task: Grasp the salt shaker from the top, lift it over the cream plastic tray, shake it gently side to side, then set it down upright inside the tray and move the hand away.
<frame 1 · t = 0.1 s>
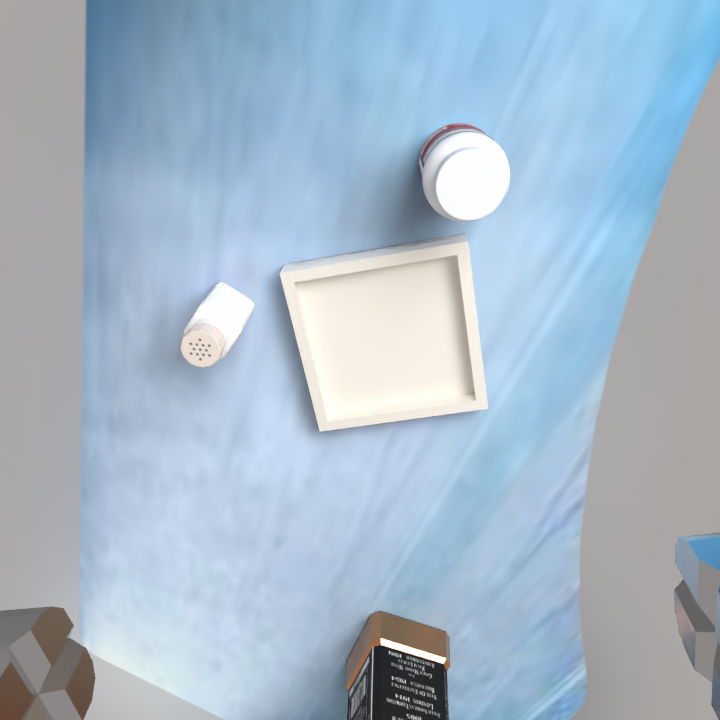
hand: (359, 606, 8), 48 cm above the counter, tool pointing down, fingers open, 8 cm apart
pill bottle: (456, 161, 52), on the counter
tray: (388, 332, 59), on the counter
salt shaker: (229, 305, 59), on the counter
whiskey bottle: (396, 647, 77), on the counter
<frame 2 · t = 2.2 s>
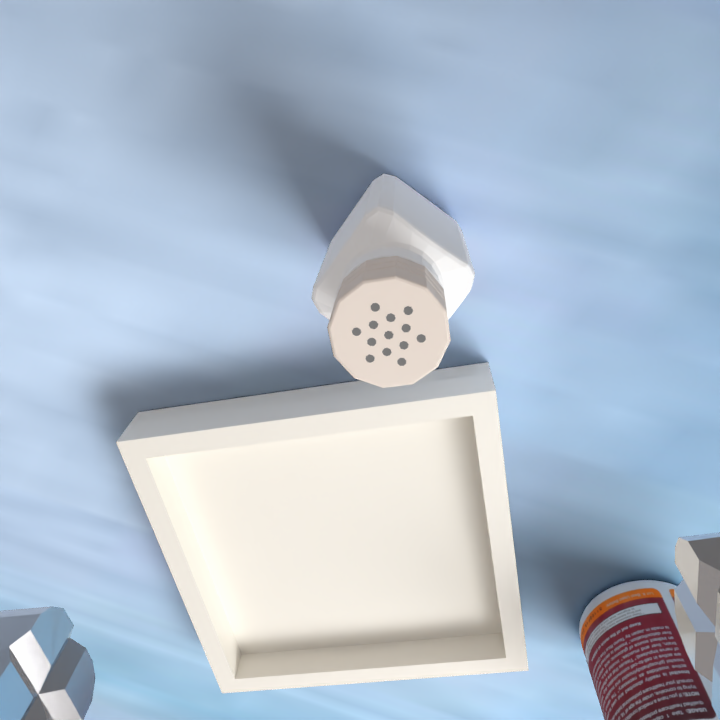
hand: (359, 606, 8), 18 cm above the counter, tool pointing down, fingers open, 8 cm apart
pill bottle: (636, 615, 33), on the counter
tray: (342, 528, 32), on the counter
salt shaker: (394, 236, 25), on the counter
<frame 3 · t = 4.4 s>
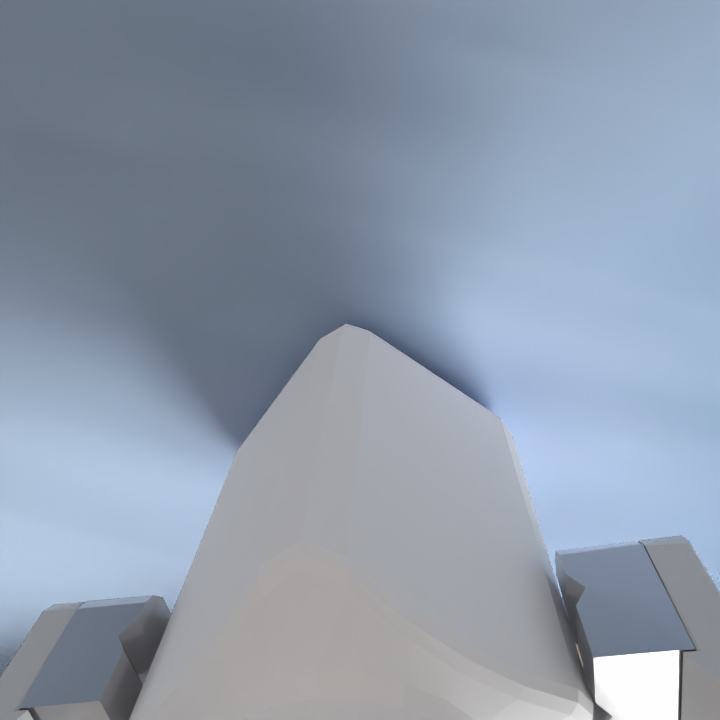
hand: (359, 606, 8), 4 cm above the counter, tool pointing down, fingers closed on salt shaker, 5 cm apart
salt shaker: (371, 431, 12), on the counter, touching gripper
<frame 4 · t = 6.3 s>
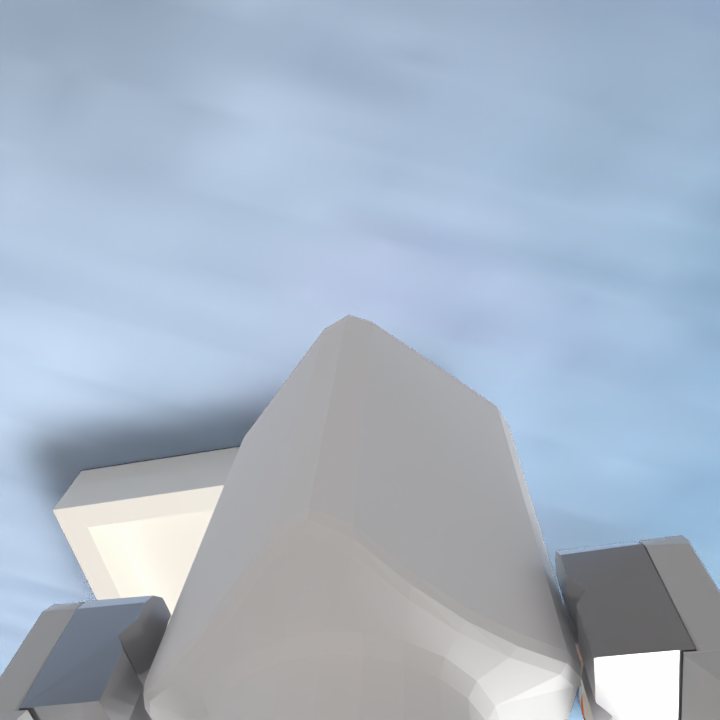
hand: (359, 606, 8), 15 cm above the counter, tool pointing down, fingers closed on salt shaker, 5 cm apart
tray: (316, 592, 28), on the counter
salt shaker: (372, 420, 13), point 10 cm above the counter, touching gripper
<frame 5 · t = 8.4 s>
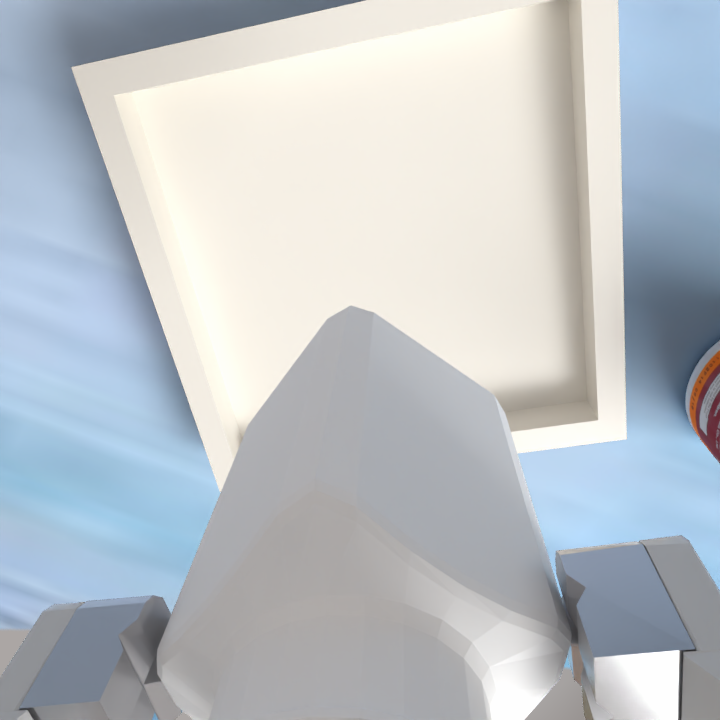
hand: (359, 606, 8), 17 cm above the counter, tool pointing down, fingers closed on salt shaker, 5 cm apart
tray: (380, 252, 24), on the counter
salt shaker: (373, 408, 13), point 12 cm above the counter, touching gripper
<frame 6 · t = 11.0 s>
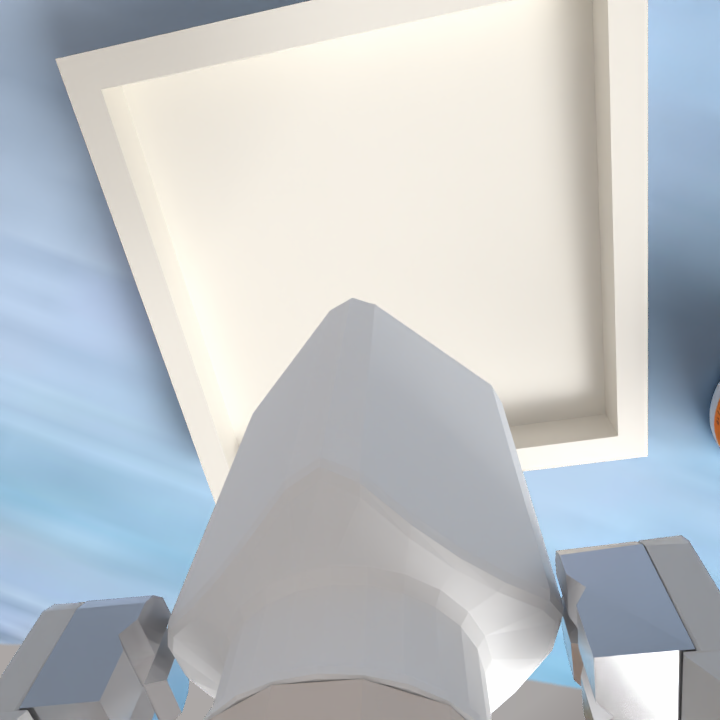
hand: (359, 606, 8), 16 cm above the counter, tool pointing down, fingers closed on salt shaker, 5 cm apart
tray: (386, 257, 22), on the counter
salt shaker: (373, 398, 14), point 10 cm above the counter, touching gripper
when the fingers open (6 cm above the counter, at t = 12.8 s): salt shaker stays where it is, resting on tray.
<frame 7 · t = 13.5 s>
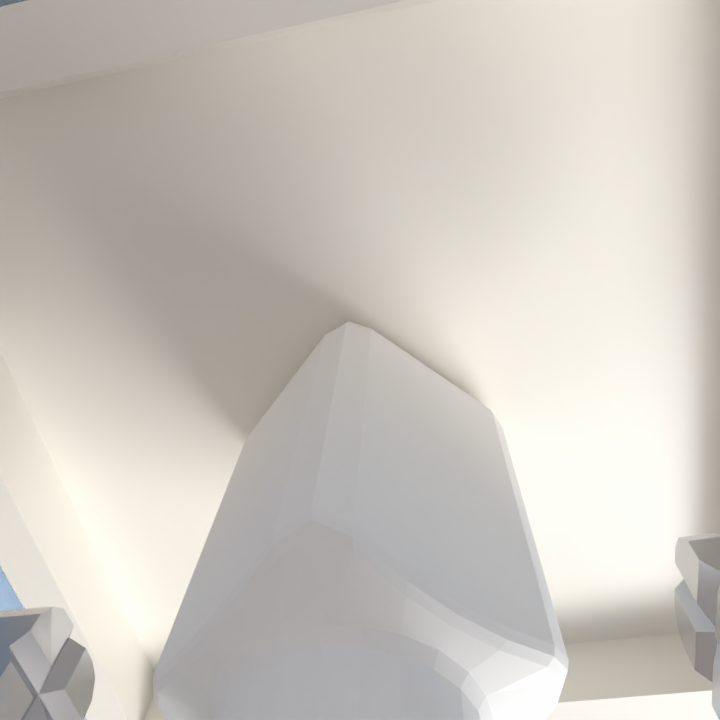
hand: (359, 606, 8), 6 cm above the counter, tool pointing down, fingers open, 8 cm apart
tray: (372, 392, 14), on the counter
salt shaker: (370, 422, 13), point 1 cm above the counter, touching tray
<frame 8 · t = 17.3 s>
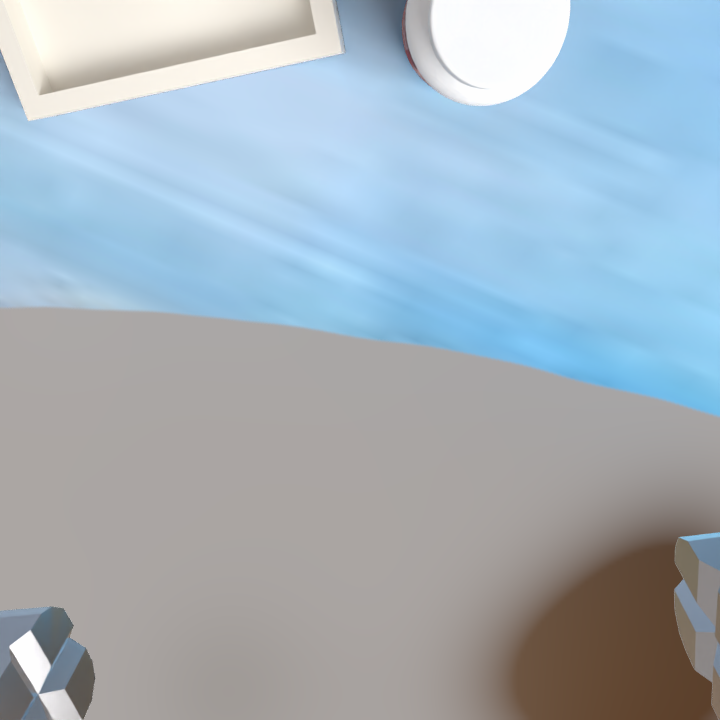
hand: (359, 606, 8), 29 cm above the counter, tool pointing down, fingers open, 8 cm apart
pill bottle: (465, 27, 31), on the counter
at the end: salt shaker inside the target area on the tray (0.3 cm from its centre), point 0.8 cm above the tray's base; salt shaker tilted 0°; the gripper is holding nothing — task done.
